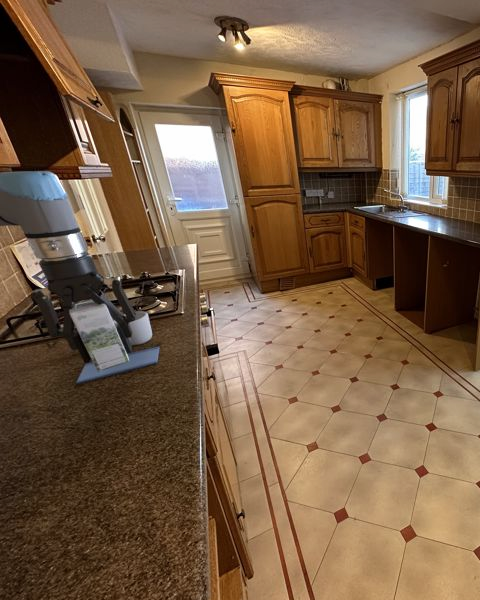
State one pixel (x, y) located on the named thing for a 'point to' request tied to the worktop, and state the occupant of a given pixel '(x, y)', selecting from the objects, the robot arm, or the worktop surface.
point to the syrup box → (99, 334)
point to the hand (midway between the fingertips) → (109, 354)
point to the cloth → (135, 362)
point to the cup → (139, 328)
